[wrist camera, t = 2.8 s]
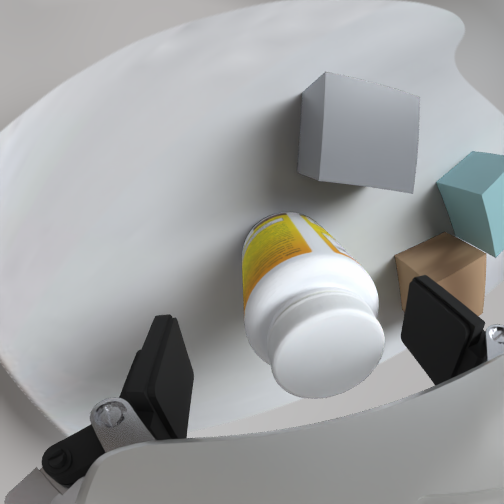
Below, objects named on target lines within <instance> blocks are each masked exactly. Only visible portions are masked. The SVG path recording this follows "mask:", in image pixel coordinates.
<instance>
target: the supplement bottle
mask: <svg viewBox="0 0 504 504" xmlns="http://www.w3.org/2000/svg"><path fill="white" fill-rule="evenodd" d="M242 277H243V301H244V323H245V330H246V335H247V338H248V341H249V343H250V345H251V347H252V348H253V350H254V351H255V353H256V354H257V355H258V356H259V357H260V358H261V359H262V360H263V361H264V362H266V363H267V364H269V365H271V369H272V373H273V376H274V378H275V380H276V382H277V383H278V384H279V385H280V386H281V387H282V388H283V389H284V390H285V391H287V392H288V393H290V394H293V395H295V396H298V397H302V398H314V399H317V398H327V397H331V396H335V395H338V394H341V393H344V392H346V391H348V390H350V389H352V388H353V387H355V386H357V385H358V384H360V383H361V382H362V381H364V380H365V379H366V378H367V377H368V376H369V375H370V374H371V373H372V371H373V370H374V369H375V368H376V366H377V365H378V363H379V361H380V359H381V357H382V354H383V351H384V346H385V337H384V332H383V329H382V327H381V325H380V323H379V321H378V320H377V317H378V310H379V299H378V294H377V290H376V287H375V284H374V282H373V280H372V278H371V277H370V276H369V274H368V273H367V272H366V270H365V269H364V268H363V267H362V266H361V265H360V264H359V263H358V262H357V261H356V260H355V259H354V258H353V257H352V256H351V255H350V254H349V253H348V252H347V251H346V250H345V249H344V248H343V247H342V246H341V245H340V244H339V243H338V242H337V241H336V240H335V239H334V238H333V237H332V236H331V235H330V234H329V233H328V232H327V231H326V230H325V229H323V228H322V227H321V226H320V225H319V224H318V223H317V222H316V221H314V220H313V219H311V218H310V217H308V216H305V215H303V214H299V213H294V212H283V213H277V214H274V215H271V216H269V217H267V218H265V219H263V220H262V221H260V222H259V223H258V224H256V225H255V226H254V228H253V229H252V230H251V231H250V233H249V234H248V236H247V238H246V240H245V243H244V246H243V250H242Z"/></svg>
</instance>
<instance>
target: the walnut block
mask: <svg viewBox="0 0 504 504" xmlns="http://www.w3.org/2000/svg"><path fill="white" fill-rule="evenodd" d="M395 260H396V266H397V273H398V280H399V287H400V295H401V303H402V310H403V311H404V312H405V309H406V303H407V296H408V289H409V284H410V282H411V281H412V279H413V278H414V277H418V276H422V275H427V276H428V277H430V278H431V279H432V280H434V281H435V282H436V283H438V284H439V285H440V286H441V287H443V288H444V289H445V290H447V291H448V292H449V293H450V294H452V295H453V296H454V297H455V298H457V299H458V300H459V301H460V302H462V303H463V304H464V305H465V306H466V307H468V308H469V309H470V310H471V311H473V312H474V313H475V314H476V315H477V316H479V315H481V314H482V313H483V305H484V295H485V281H486V253H484V252H482V251H480V250H479V249H477V248H475V247H473V246H471V245H470V244H468V243H466V242H464V241H462V240H460V239H458V238H456V237H454V236H452V235H450V234H448V233H447V232H443V233H441V234H439V235H437V236H435V237H433V238H431V239H429V240H427V241H425V242H423V243H420V244H418V245H416V246H414V247H412V248H410V249H407V250H405V251H403V252H401V253H399V254H396V255H395Z"/></svg>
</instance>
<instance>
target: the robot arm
mask: <svg viewBox="0 0 504 504" xmlns="http://www.w3.org/2000/svg"><path fill="white" fill-rule="evenodd" d="M484 325H485V322H484V321H483V320H482V319H481V318H480V317H478V316H477V315H476V314H475V313H474V312H473V311H471V310H470V309H469V308H468V307H466V306H465V305H464V304H463V303H462V302H460V301H459V300H458V299H457V298H455V297H454V296H453V295H452V294H450V293H449V292H448V291H447V290H445V289H444V288H443V287H441V286H440V285H439V284H438V283H436V282H435V281H434V280H432V279H431V278H430V277H428V276H427V275H422V276H418V277H414V278H413V279H412V281H411V282H410V284H409V289H408V296H407V303H406V309H405V315H404V321H403V326H402V331H401V340H402V342H403V343H404V344H405V346H406V347H407V348H408V350H409V351H410V352H411V353H412V355H413V356H414V357H415V359H416V360H417V361H418V363H419V364H420V365H421V367H422V368H423V369H424V371H425V372H426V373H427V374H428V376H429V377H430V378H431V380H432V381H433V383H434V384H435V385H436V386H433V387H431V388H429V389H426V390H424V391H421V392H419V393H416V394H413V395H411V396H408V397H406V398H402V399H400V400H397V401H394V402H391V403H388V404H385V405H382V406H379V407H376V408H373V409H369V410H366V411H362V412H359V413H355V414H352V415H348V416H344V417H340V418H336V419H332V420H328V421H323V422H318V423H314V424H309V425H304V426H299V427H293V428H288V429H281V430H274V431H267V432H260V433H251V434H241V435H231V436H220V437H203V438H186V437H187V428H188V419H189V411H190V403H191V395H192V387H193V380H194V374H193V369H192V366H191V363H190V360H189V357H188V354H187V351H186V348H185V344H184V341H183V338H182V334H181V331H180V328H179V324H178V321H177V319H176V318H172V316H171V315H158V316H155V318H154V320H153V323H152V325H151V328H150V330H149V332H148V335H147V337H146V340H145V342H144V345H143V347H142V350H139V351H138V352H137V354H136V356H135V358H134V361H133V363H132V366H131V369H130V371H129V374H128V376H127V379H126V381H125V384H124V387H123V389H122V392H121V395H120V397H119V398H116V397H114V398H108V399H105V400H102V401H101V402H99V403H98V404H97V405H96V406H95V407H94V408H93V409H92V411H91V414H90V421H91V425H89V426H88V427H86V428H84V429H82V430H80V431H79V432H77V433H75V434H73V435H71V436H69V437H68V438H66V439H64V440H62V441H60V442H58V443H56V444H54V445H52V446H51V447H49V448H48V449H47V450H46V452H45V453H44V455H43V457H42V466H43V467H42V468H41V469H40V470H39V469H38V468H37V467H36V468H35V469H34V470H33V471H32V472H31V473H30V474H29V475H27V476H26V477H25V478H24V479H23V480H22V481H21V482H20V483H19V484H18V485H16V486H15V487H14V488H13V489H12V490H11V491H10V492H9V493H8V494H7V496H6V498H5V504H504V325H500V324H495V325H491V326H489V327H488V328H487V329H486V332H485V331H484V330H483V328H484Z"/></svg>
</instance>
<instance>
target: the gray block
mask: <svg viewBox="0 0 504 504" xmlns="http://www.w3.org/2000/svg"><path fill="white" fill-rule="evenodd" d="M419 116H420V97H419V96H416V95H413V94H410V93H407V92H404V91H401V90H398V89H395V88H391V87H388V86H385V85H381V84H377V83H374V82H370V81H366V80H362V79H358V78H354V77H349V76H345V75H340V74H335V73H330V72H325V73H324V74H322V75H321V76H320V77H319V78H318V79H317V80H316V81H315V82H313V83H312V84H311V85H310V86H309V87H308V88H307V89H306V90H305V91H303V92H302V107H301V124H300V139H299V153H298V166H297V173H299V174H302V175H305V176H307V177H310V178H313V179H315V180H318V181H325V182H334V183H342V184H351V185H358V186H366V187H373V188H380V189H387V190H393V191H399V192H405V193H411V194H413V190H414V182H415V173H416V164H417V153H418V138H419Z"/></svg>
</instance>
